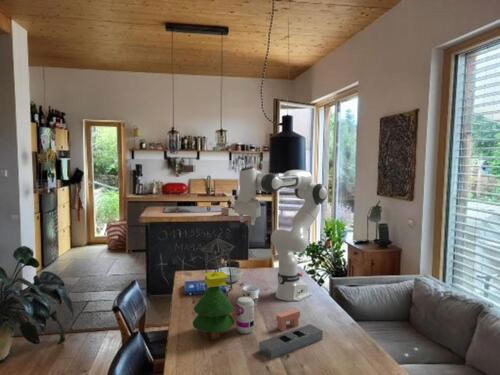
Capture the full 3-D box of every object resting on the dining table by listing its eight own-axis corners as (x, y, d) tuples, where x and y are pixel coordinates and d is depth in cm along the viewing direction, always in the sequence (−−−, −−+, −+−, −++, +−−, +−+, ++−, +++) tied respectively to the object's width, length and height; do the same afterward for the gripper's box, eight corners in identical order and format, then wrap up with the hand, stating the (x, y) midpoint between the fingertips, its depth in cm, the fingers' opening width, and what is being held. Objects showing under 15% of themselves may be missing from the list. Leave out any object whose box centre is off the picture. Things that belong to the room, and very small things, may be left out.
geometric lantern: (221, 304, 205) (220, 242, 202) (199, 299, 213) (198, 239, 210) (237, 295, 218) (236, 237, 215) (216, 290, 227) (214, 234, 224)
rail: (309, 332, 174) (310, 324, 173) (322, 339, 167) (322, 330, 167) (259, 351, 156) (259, 342, 156) (270, 359, 150) (271, 350, 149)
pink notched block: (294, 322, 184) (294, 308, 183) (299, 325, 181) (299, 311, 180) (276, 328, 177) (276, 314, 176) (280, 331, 174) (281, 317, 173)
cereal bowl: (241, 285, 236) (241, 274, 235) (215, 285, 236) (215, 274, 235) (242, 276, 252) (242, 266, 252) (218, 276, 253) (218, 266, 252)
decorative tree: (188, 329, 175) (188, 267, 172) (226, 323, 182) (227, 263, 180) (198, 349, 157) (198, 280, 155) (240, 341, 164) (240, 275, 162)
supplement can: (241, 335, 170) (241, 304, 168) (233, 328, 177) (234, 297, 176) (256, 331, 173) (257, 301, 172) (248, 324, 181) (249, 295, 179)
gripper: (264, 199, 188) (263, 226, 189) (241, 195, 205) (241, 220, 206) (254, 200, 184) (253, 227, 185) (232, 196, 201) (232, 221, 202)
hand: (247, 223), depth 196 cm, fingers open, 8 cm apart
